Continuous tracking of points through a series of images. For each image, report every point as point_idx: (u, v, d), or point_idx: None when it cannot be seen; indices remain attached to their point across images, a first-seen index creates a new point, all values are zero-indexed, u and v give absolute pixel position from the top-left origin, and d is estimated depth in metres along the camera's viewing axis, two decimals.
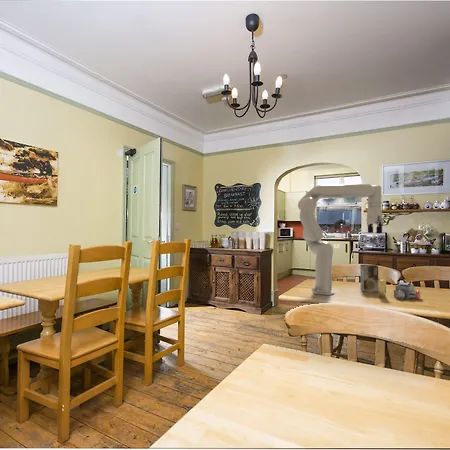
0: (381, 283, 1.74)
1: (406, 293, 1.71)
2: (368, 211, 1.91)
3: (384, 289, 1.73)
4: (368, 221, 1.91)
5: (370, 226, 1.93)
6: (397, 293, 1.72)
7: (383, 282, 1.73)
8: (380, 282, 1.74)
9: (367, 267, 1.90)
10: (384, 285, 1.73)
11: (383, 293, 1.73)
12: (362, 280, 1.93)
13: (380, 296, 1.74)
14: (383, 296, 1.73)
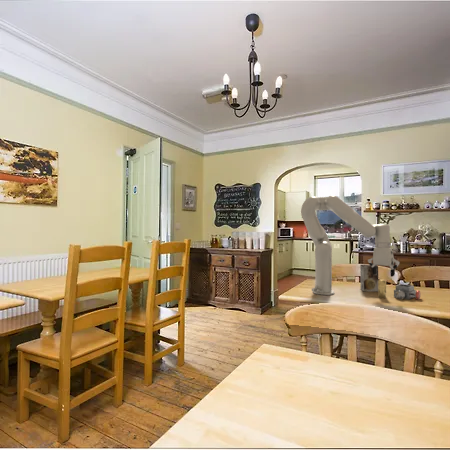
0: (381, 283, 1.74)
1: (406, 293, 1.71)
2: None
3: (384, 289, 1.73)
4: None
5: None
6: (397, 293, 1.72)
7: (383, 282, 1.73)
8: (380, 282, 1.74)
9: (367, 267, 1.90)
10: (384, 285, 1.73)
11: (383, 293, 1.73)
12: (362, 280, 1.93)
13: (380, 296, 1.74)
14: (383, 296, 1.73)
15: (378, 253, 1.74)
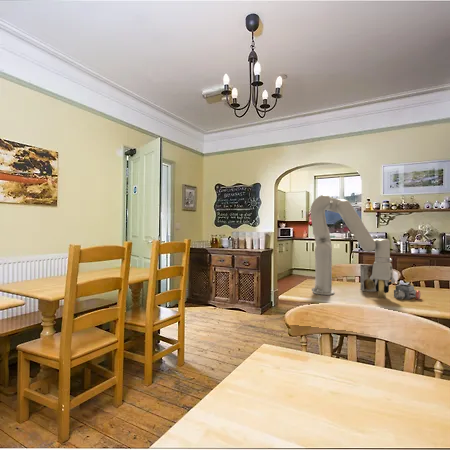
0: (381, 283, 1.74)
1: (406, 293, 1.71)
2: None
3: (384, 289, 1.73)
4: None
5: None
6: (397, 293, 1.72)
7: (383, 282, 1.73)
8: (380, 282, 1.74)
9: (367, 267, 1.90)
10: (384, 285, 1.73)
11: (383, 293, 1.73)
12: (362, 280, 1.93)
13: (380, 296, 1.74)
14: (383, 296, 1.73)
15: (377, 267, 1.75)
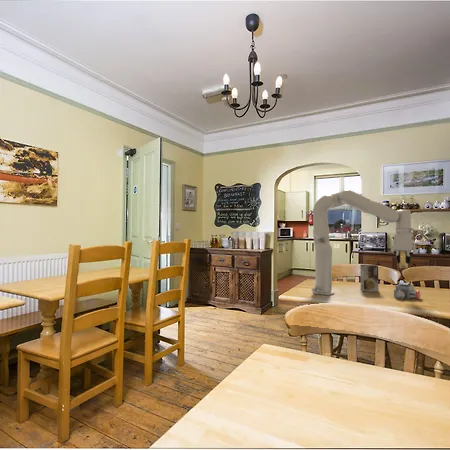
0: (403, 254, 1.74)
1: (406, 293, 1.71)
2: None
3: None
4: None
5: (407, 255, 1.74)
6: (397, 293, 1.72)
7: (405, 253, 1.74)
8: (401, 253, 1.75)
9: (367, 267, 1.90)
10: (406, 256, 1.74)
11: (405, 264, 1.74)
12: (362, 280, 1.93)
13: (402, 267, 1.75)
14: (405, 267, 1.74)
15: (399, 238, 1.75)
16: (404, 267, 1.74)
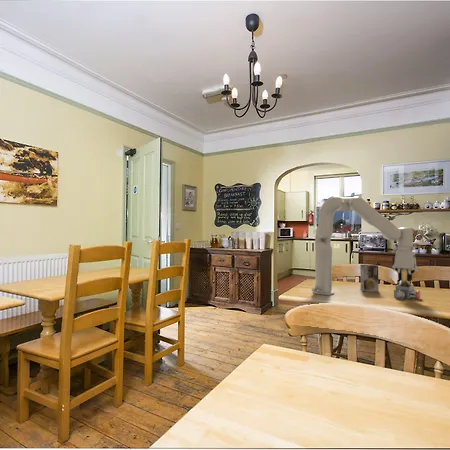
0: (404, 271, 1.74)
1: (406, 293, 1.71)
2: None
3: (407, 277, 1.74)
4: None
5: None
6: (397, 293, 1.72)
7: (406, 270, 1.74)
8: (403, 270, 1.75)
9: (367, 267, 1.90)
10: (407, 273, 1.74)
11: (406, 281, 1.74)
12: (362, 280, 1.93)
13: (403, 284, 1.75)
14: (406, 284, 1.74)
15: (400, 256, 1.75)
16: (405, 285, 1.74)
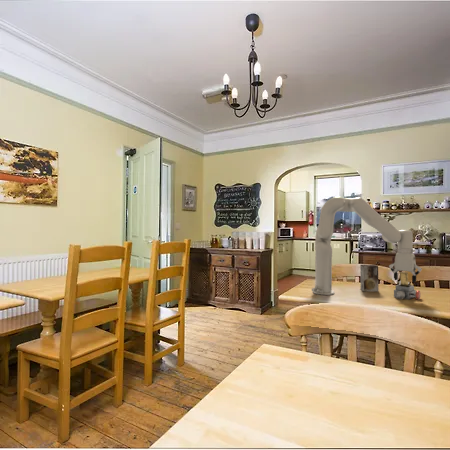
0: (403, 275, 1.75)
1: (406, 293, 1.71)
2: None
3: (406, 281, 1.74)
4: None
5: None
6: (397, 293, 1.72)
7: (405, 274, 1.75)
8: (402, 274, 1.75)
9: (367, 267, 1.90)
10: (406, 277, 1.75)
11: (405, 285, 1.74)
12: (362, 280, 1.93)
13: None
14: None
15: (400, 258, 1.75)
16: None
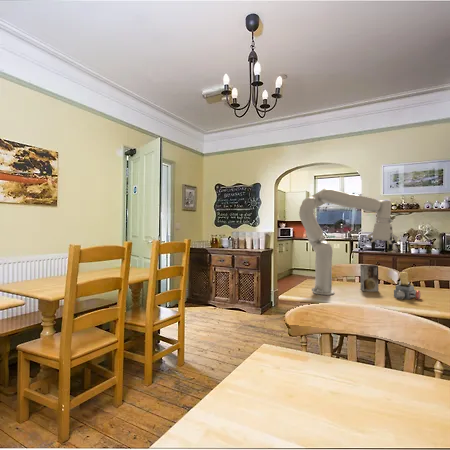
0: (403, 275, 1.75)
1: (406, 293, 1.71)
2: None
3: (406, 281, 1.74)
4: None
5: None
6: (397, 293, 1.72)
7: (405, 274, 1.75)
8: (402, 274, 1.75)
9: (367, 267, 1.90)
10: (406, 277, 1.75)
11: (405, 285, 1.74)
12: (362, 280, 1.93)
13: None
14: None
15: (378, 228, 1.80)
16: None
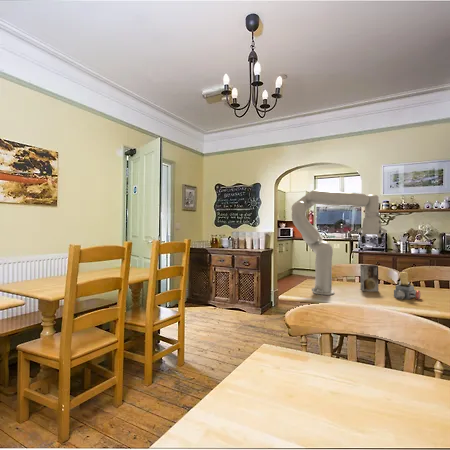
0: (403, 275, 1.75)
1: (406, 293, 1.71)
2: None
3: (406, 281, 1.74)
4: None
5: None
6: (397, 293, 1.72)
7: (405, 274, 1.75)
8: (402, 274, 1.75)
9: (367, 267, 1.90)
10: (406, 277, 1.75)
11: (405, 285, 1.74)
12: (362, 280, 1.93)
13: None
14: None
15: (367, 222, 1.83)
16: None
